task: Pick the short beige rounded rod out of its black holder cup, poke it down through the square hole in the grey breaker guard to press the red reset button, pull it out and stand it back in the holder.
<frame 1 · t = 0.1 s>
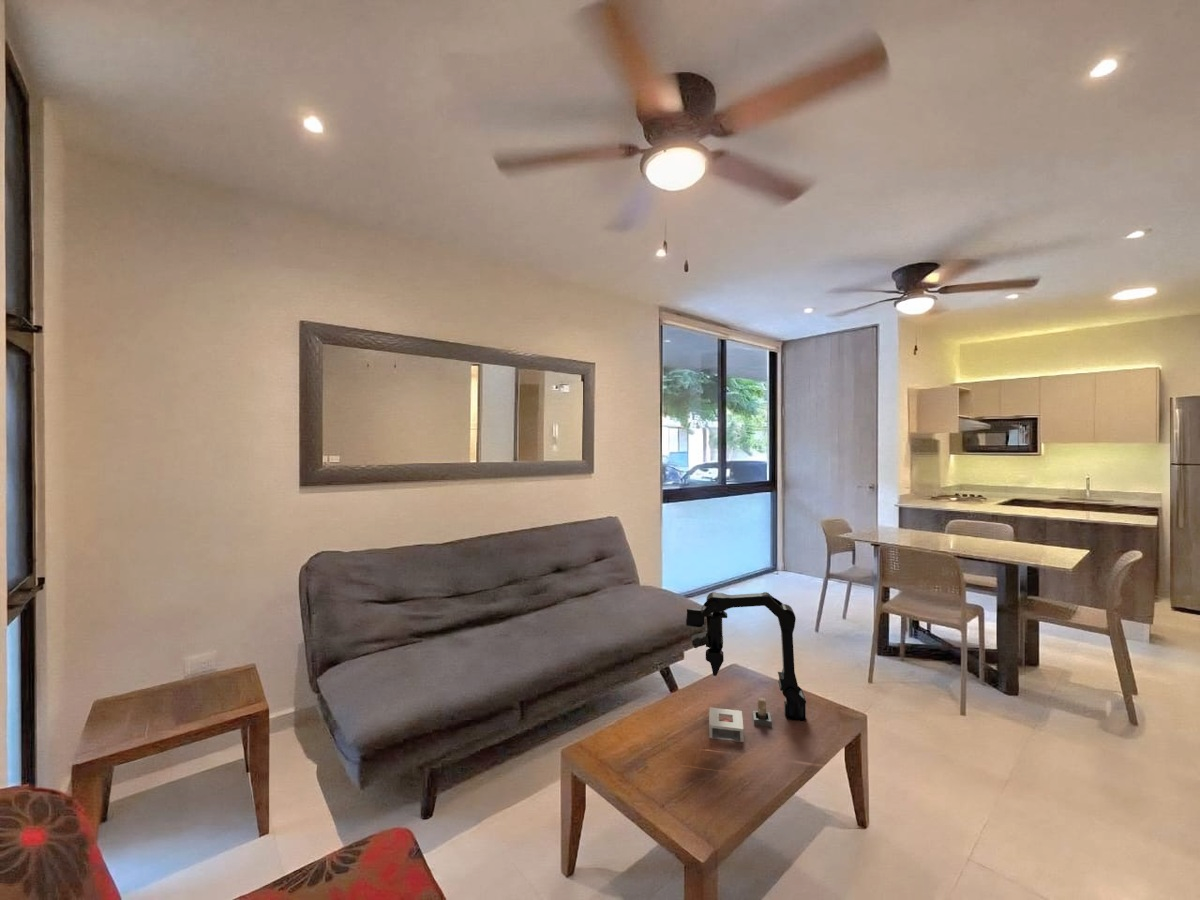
hand: (714, 669, 184), 14 cm above the table, fingers open, 9 cm apart
holder: (762, 722, 175), on the table
breaker box: (725, 731, 169), on the table
beige rounded rod: (762, 720, 175), resting on holder
breaker button: (725, 723, 169), point 3 cm above the table, slide at 0.0 cm
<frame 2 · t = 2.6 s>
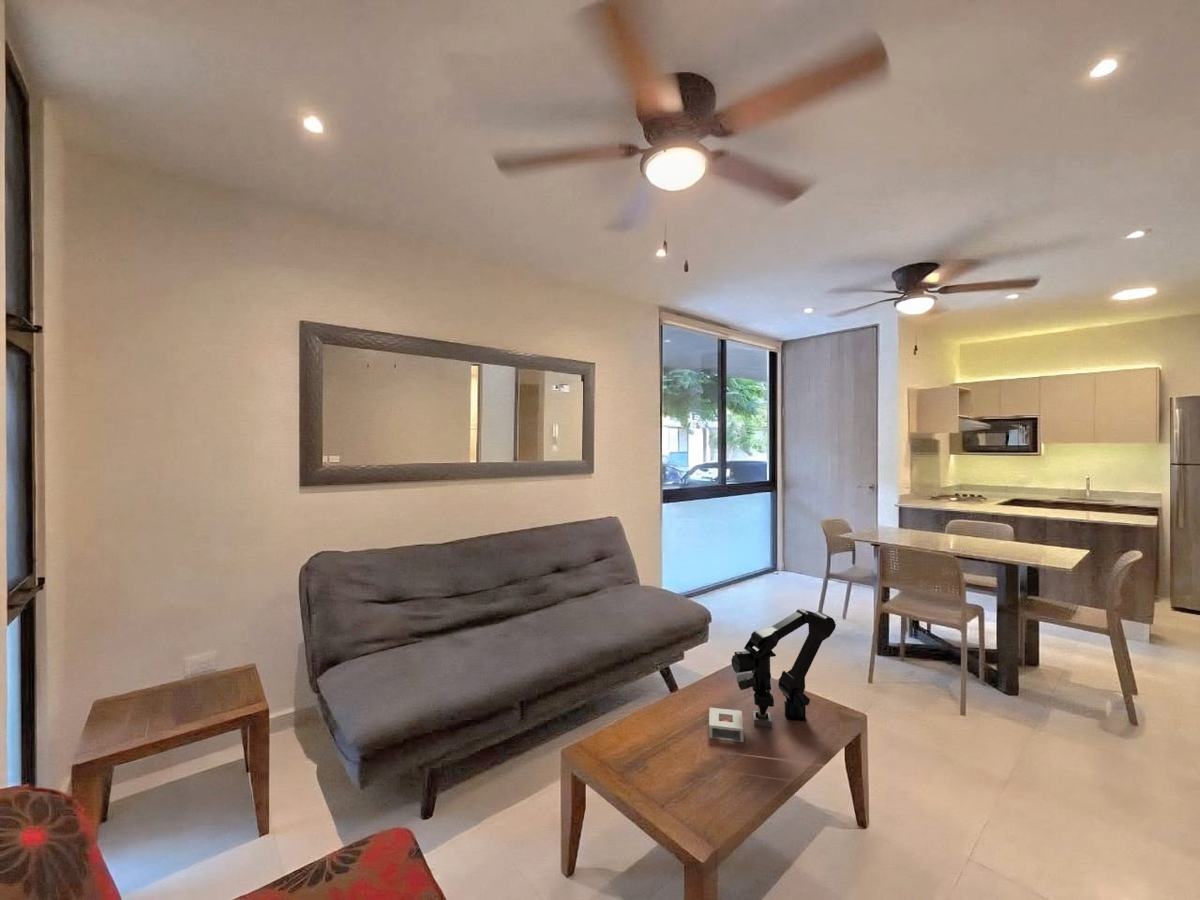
hand: (762, 712, 174), 3 cm above the table, fingers closed on beige rounded rod, 3 cm apart
beige rounded rod: (762, 720, 175), resting on holder, touching gripper
everything else where it was.
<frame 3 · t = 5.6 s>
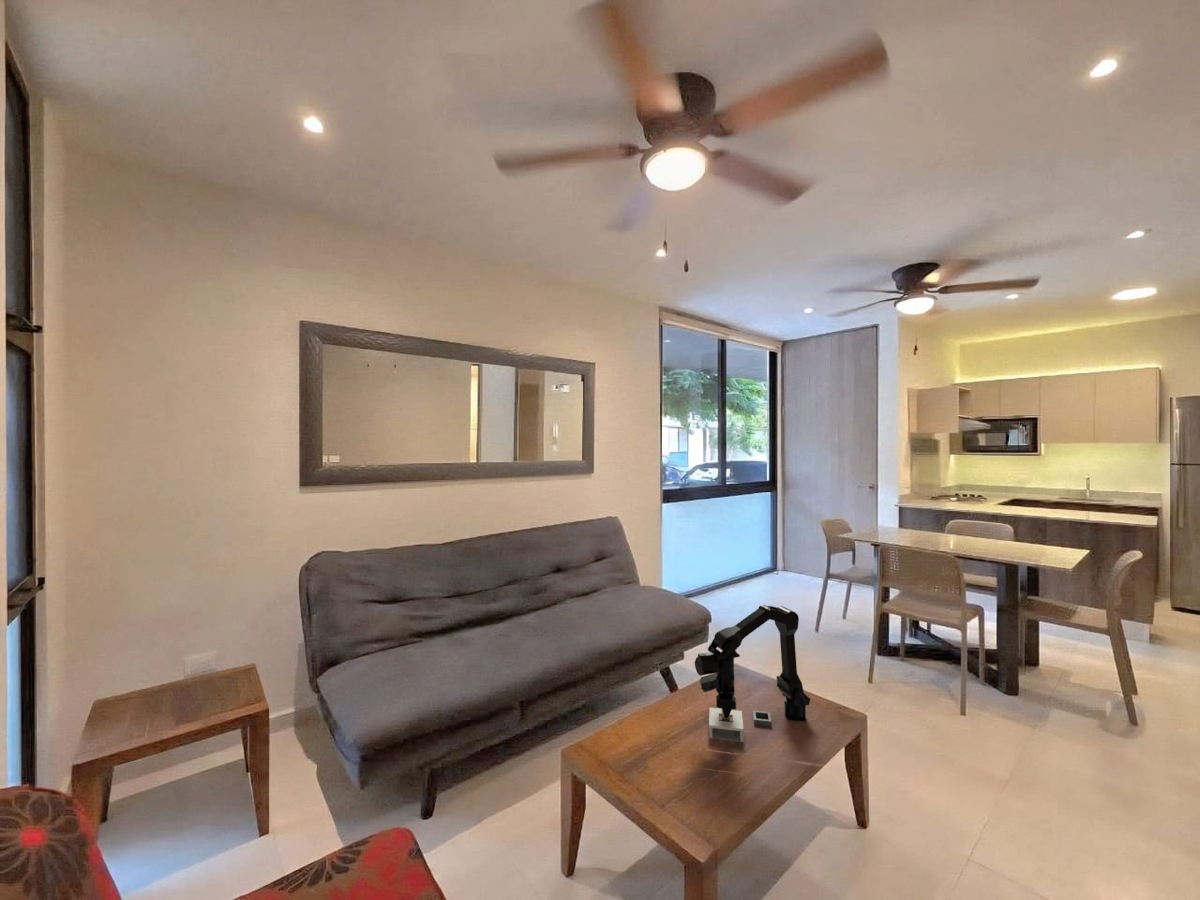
hand: (725, 715, 169), 6 cm above the table, fingers closed on beige rounded rod, 3 cm apart
beige rounded rod: (725, 723, 169), point 3 cm above the table, touching breaker button, gripper
breaker button: (725, 726, 169), point 2 cm above the table, slide at 1.0 cm, touching beige rounded rod
when the fingers open (4 cm above the table, at t = 9.7 s): beige rounded rod stays where it is, resting on holder.
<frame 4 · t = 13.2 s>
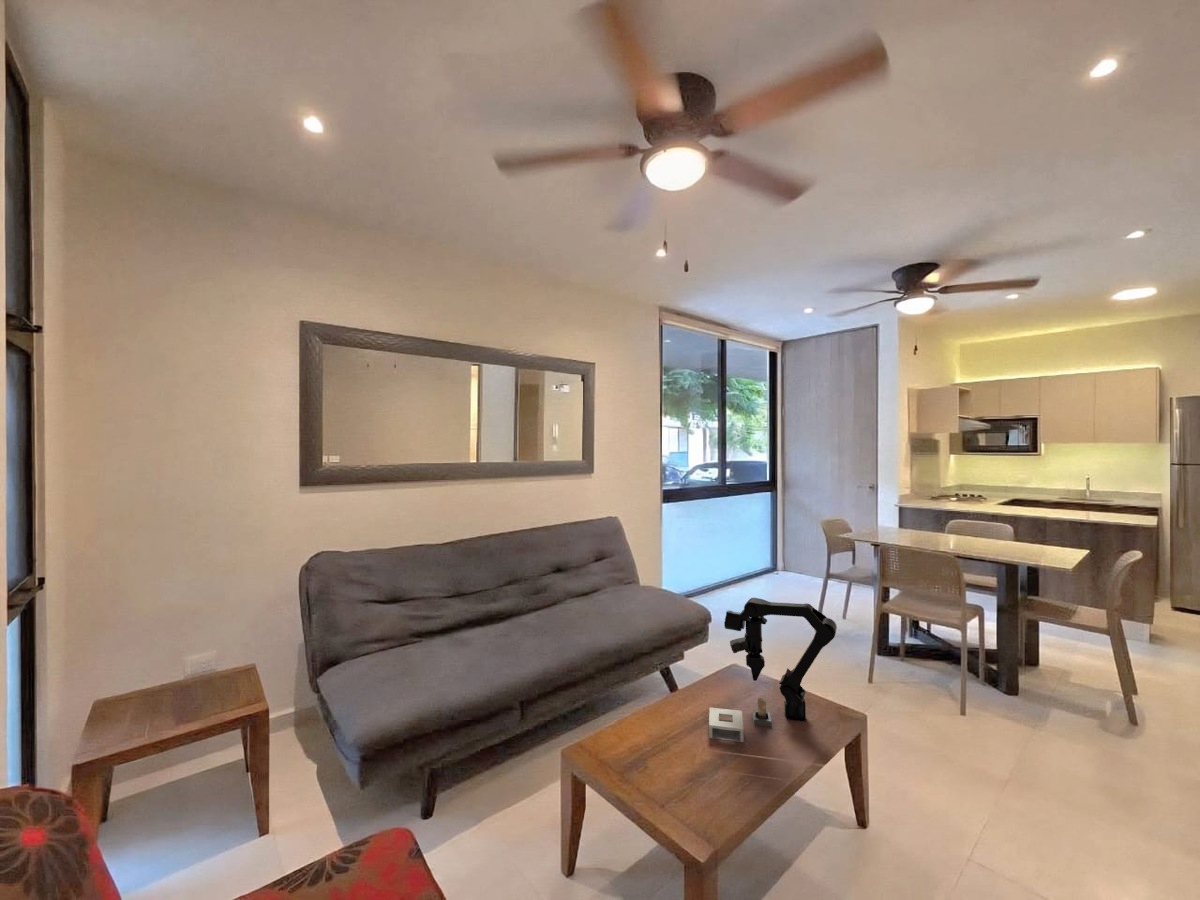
hand: (753, 674, 184), 12 cm above the table, fingers open, 9 cm apart
beige rounded rod: (761, 720, 175), resting on holder
breaker button: (725, 726, 169), point 2 cm above the table, slide at 1.1 cm
at the end: breaker button slide at 1.1 cm; beige rounded rod 0.0 cm off-centre on the holder, point 0.4 cm above the holder's base; beige rounded rod tilted 0° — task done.
